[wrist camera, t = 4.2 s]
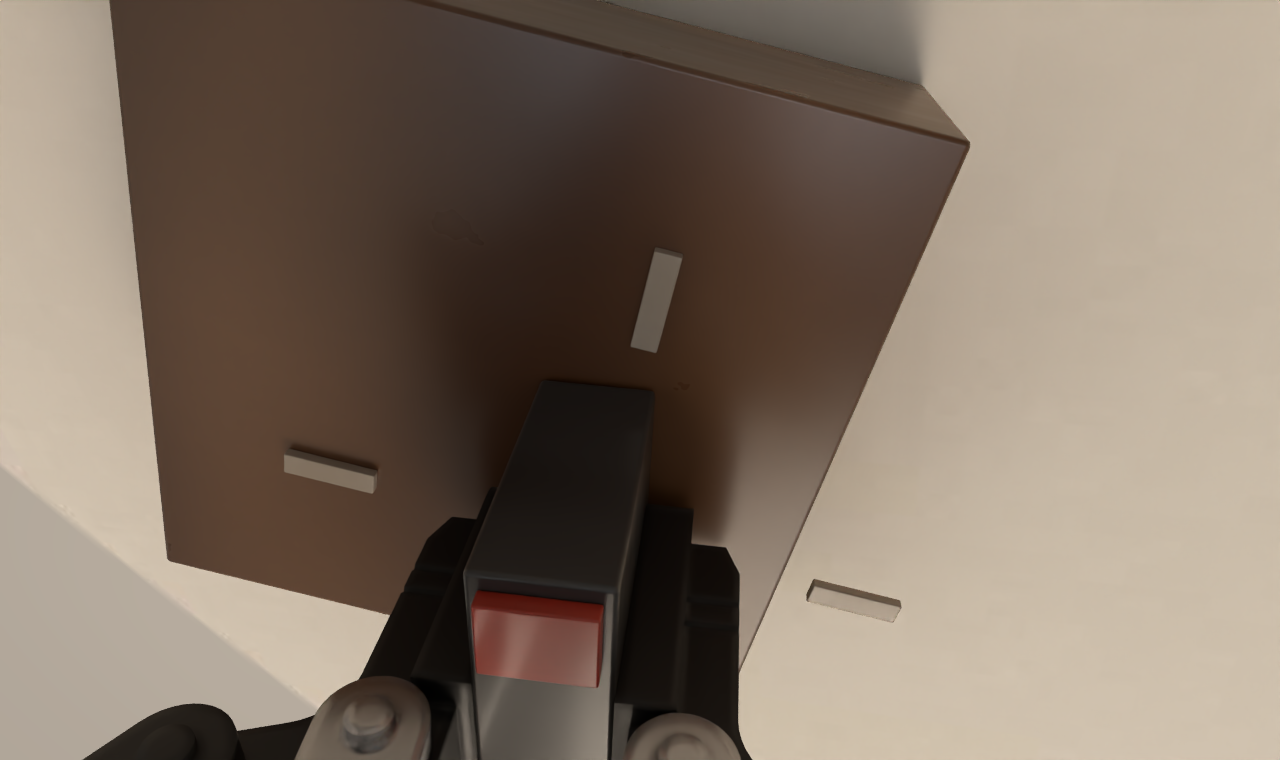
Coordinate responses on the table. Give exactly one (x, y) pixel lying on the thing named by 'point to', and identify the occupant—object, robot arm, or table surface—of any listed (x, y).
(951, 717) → the table surface
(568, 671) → the dark grey block
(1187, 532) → the table surface
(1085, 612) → the table surface
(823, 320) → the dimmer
